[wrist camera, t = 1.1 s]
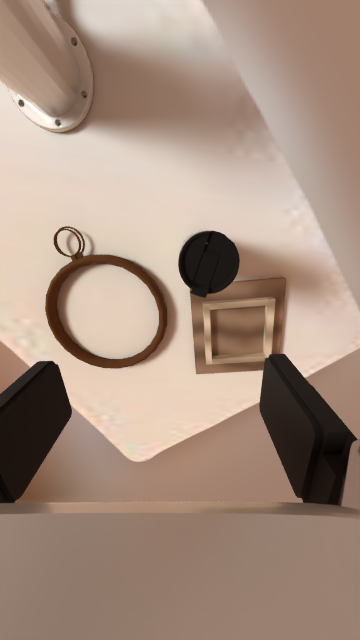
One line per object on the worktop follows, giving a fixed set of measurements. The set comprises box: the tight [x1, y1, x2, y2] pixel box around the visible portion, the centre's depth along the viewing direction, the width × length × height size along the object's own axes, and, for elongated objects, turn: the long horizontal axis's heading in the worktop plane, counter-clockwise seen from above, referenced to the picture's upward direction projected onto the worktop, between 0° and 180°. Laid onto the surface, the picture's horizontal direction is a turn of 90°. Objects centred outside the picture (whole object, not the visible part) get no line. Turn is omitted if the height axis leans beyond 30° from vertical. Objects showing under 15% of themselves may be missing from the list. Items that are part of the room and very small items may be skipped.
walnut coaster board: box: [190, 278, 286, 374], centre depth 44 cm, size 20×18×2 cm
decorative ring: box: [45, 227, 167, 368], centre depth 43 cm, size 24×3×30 cm
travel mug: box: [178, 231, 239, 298], centre depth 30 cm, size 6×7×20 cm
